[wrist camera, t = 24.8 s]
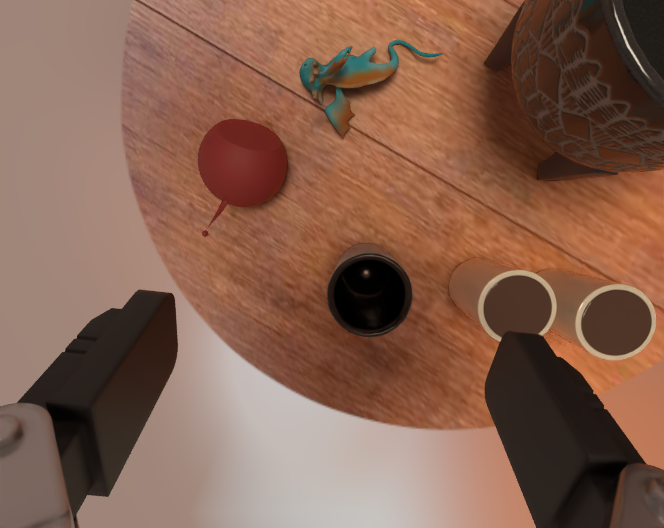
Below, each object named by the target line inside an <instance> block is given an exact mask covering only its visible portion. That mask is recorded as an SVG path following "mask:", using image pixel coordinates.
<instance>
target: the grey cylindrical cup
mask: <svg viewBox="0 0 664 528" xmlns="http://www.w3.org/2000/svg"><path fill="white" fill-rule="evenodd" d="M412 298H413V293H412V286H411V282H410V279H409V277H408V275H407V273H406V272H405V270H404V269H403V268H402V267H401V265H400V264H399V263H398V262H397V261H396V260H395V259H394V258H393V257H392V256H391V255H390V254H389V253H388V252H387V251H386V250H385V249H384V248H382V247H380V246H378V245H375V244H371V243H362V244H358V245H355V246H353V247H351V248H349V249H348V250H347V251H345V252H344V254H343V255H342V256H341V258H340V259H339V261H338V263H337V265H336V267H335V269H334V271H333V273H332V275H331V278H330V280H329V283H328V288H327V302H328V306H329V309H330V312H331V314H332V316H333V317H334V319H335V320H336V321H337V323H338V324H339V325H340V326H341V327H343V328H344V329H345V330H347V331H348V332H350V333H353V334H355V335H358V336H363V337H377V336H381V335H385V334H387V333H389V332H391V331H393V330H394V329H396V328H397V327H398V326H399V325H400V324H401V323H402V322H403V321H404V320H405V318H406V317H407V315H408V313H409V311H410V308H411V304H412Z"/></svg>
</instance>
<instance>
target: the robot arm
mask: <svg viewBox="0 0 664 528" xmlns="http://www.w3.org/2000/svg"><path fill="white" fill-rule="evenodd" d="M177 341H178V340H177V324H176V308H175V298H174V295H173V294H172V293H166V292H156V291H148V290H138V291H137V292H135V294H134V295H133V296H132V297H131V298H130V300H129V301H128V302H127V303H126V305H125V306H124V307H123V308H122V309H115V308H111V309H110V310H108V311H106V312H104V313H103V314H101V315H99V316H97V317H96V318H94V319H92V320H91V321H90V322H89V323H88V324H87V325H86V326H85V328H84V329H83V330H82V331H81V332H80V333H79V334H78V335H77V339H74V340H73V341H72V342H71V343H70V344H69V346H67V348H66V350H65V352H62V353H61V354H60V355H59V357H58V358H57V359H56V360H55V361H54V362H53V363H52V364H51V365H50V367H49V368H48V369H47V370H46V371H45V372H44V373H43V374H42V376H41V377H40V378H39V379H38V380H37V381H36V382H35V383H34V385H33V386H32V387H31V388H30V389H29V390H28V391H27V392H26V393H25V394H24V396H23V397H22V398H21V399H20V400H19V401H18V402H17V403H14V404H8V405H3V406H0V528H79V524H78V519H77V515H76V514H77V512H78V510H79V509H80V507H81V505H82V503H83V502H84V499H85V498H86V496H87V495H95V496H106V497H108V496H109V494H110V492H111V490H112V489H113V487H114V485H115V482H116V481H117V479H118V477H119V475H120V473H121V471H122V469H123V467H124V465H125V463H126V461H127V459H128V457H129V455H130V453H131V451H132V449H133V447H134V445H135V443H136V441H137V440H138V438H139V436H140V434H141V432H142V430H143V428H144V426H145V424H146V422H147V420H148V418H149V416H150V414H151V412H152V410H153V408H154V406H155V404H156V402H157V400H158V398H159V396H160V395H161V393H162V391H163V389H164V387H165V385H166V383H167V381H168V379H169V377H170V375H171V373H172V371H173V368H174V366H175V362H176V358H177V351H178V342H177ZM485 399H486V403H487V406H488V409H489V411H490V414H491V416H492V419H493V421H494V424H495V426H496V428H497V431H498V433H499V436H500V438H501V440H502V443H503V446H504V448H505V451H506V453H507V456H508V458H509V461H510V463H511V466H512V468H513V471H514V473H515V476H516V478H517V481H518V483H519V486H520V488H521V491H522V493H523V496H524V498H525V501H526V503H527V506H528V508H529V511H530V513H531V515H532V518H533V520H534V523H535V525H536V528H664V470H662V469H660V468H657V467H655V466H651V465H647V464H646V463H645V462H644V460H643V459H642V458H641V456H640V455H639V453H638V452H637V450H636V449H635V448H634V446H633V445H632V444H631V442H630V441H629V439H628V438H627V437H626V435H625V434H624V432H623V431H622V430H621V428H620V427H619V426H618V424H617V423H616V421H615V420H614V419H613V417H612V416H611V414H610V413H609V412H608V410H606V409H604V405H603V403H602V402H601V401H600V399H599V398H598V397H597V395H596V394H593V390H592V388H591V387H590V385H589V384H588V383H587V381H586V380H585V379H584V377H583V376H582V374H581V373H580V372H578V371H577V370H576V369H575V368H574V367H572V366H571V365H570V364H569V363H568V362H566V361H565V360H564V359H563V358H561V357H557V356H556V355H555V353H554V352H553V350H552V349H551V347H550V346H549V344H548V343H547V342H546V340H545V339H544V337H543V336H541V335H540V334H533V333H523V332H514V331H507V332H505V334H504V335H503V336H502V339H501V341H500V344H499V346H498V349H497V352H496V354H495V357H494V360H493V362H492V365H491V368H490V370H489V373H488V376H487V379H486V383H485Z"/></svg>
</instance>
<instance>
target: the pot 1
mask: <svg viewBox="0 0 664 528" xmlns="http://www.w3.org/2000/svg"><path fill="white" fill-rule="evenodd" d="M449 292H450V296H451V299H452V301H453V302H454V304H455V305H456V306H457V307H458V308H459V309H460V310H461V311H462V312H463V313H465V314H466V315H467V316H468V317H469V318H470V319H471V320H472V321H474V322H475V323H476V324H477V325H478V326H479V327H480V328H482V329H483V330H484V331H485V332H486V333H487V334H488V335H490V336H491V337H492V338H493V339H495V340H497V341H499V342H500V341H501V339H502V336H503V335H504V334H505V332H507V331H514V332H523V333H533V334H540V335H541V336H543V335H544V334H545V333H546V332H547V331H548V330H549V328H550V327H551V325H552V323H553V321H554V319H555V315H556V308H557V306H556V298H555V295H554V292H553V290H552V288H551V287H550V285H549V284H548V283H547V282H546V280H544V279H543V278H542V277H541V276H539V275H537V274H535V273H533V272H530V271H527V270H523V269H520V268H517V267H513V266H510V265H507V264H503V263H500V262H496V261H493V260H490V259H486V258H473V259H469V260H467V261H465V262H463V263H461V264H460V265H459V266H458V267H457V268H456V269H455V270H454V272H453V274H452V276H451V278H450V282H449Z"/></svg>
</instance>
